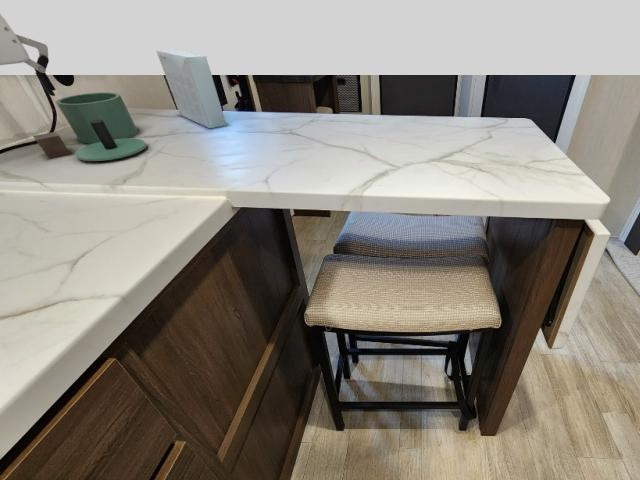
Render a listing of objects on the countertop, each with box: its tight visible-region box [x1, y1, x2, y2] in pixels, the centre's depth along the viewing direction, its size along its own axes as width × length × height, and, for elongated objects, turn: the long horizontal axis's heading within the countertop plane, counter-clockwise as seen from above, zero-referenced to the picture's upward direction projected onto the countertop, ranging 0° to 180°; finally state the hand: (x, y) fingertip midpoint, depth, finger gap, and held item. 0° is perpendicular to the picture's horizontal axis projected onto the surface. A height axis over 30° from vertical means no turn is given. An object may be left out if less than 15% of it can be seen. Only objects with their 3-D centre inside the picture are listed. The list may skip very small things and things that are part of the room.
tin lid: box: [74, 120, 147, 162], centre depth 74 cm, size 14×14×7 cm
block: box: [32, 131, 72, 160], centre depth 74 cm, size 4×4×4 cm
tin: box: [55, 91, 139, 145], centre depth 82 cm, size 13×13×8 cm
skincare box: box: [156, 49, 227, 129], centre depth 91 cm, size 21×5×16 cm, turn 47°
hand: (23, 99), depth 68 cm, fingers open, 9 cm apart
